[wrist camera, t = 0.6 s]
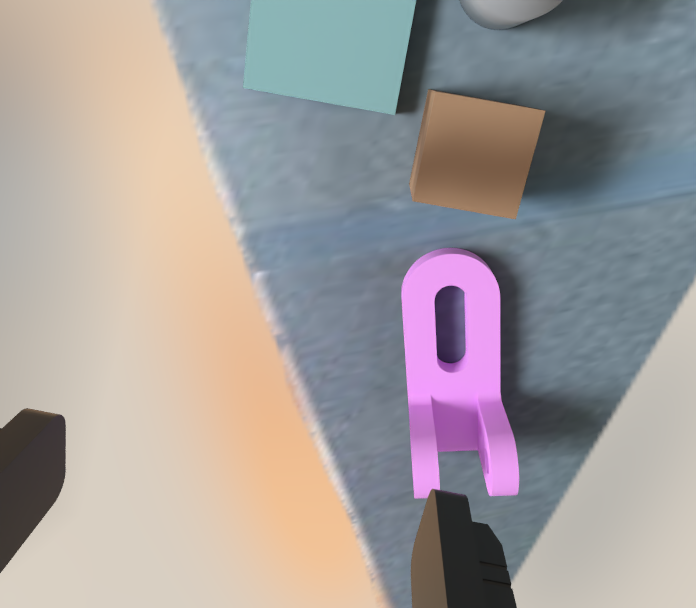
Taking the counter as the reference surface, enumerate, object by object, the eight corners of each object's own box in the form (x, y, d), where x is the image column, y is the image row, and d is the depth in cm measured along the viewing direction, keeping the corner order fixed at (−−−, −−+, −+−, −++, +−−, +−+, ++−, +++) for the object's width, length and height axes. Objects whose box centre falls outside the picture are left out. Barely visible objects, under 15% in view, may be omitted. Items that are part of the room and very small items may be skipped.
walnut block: (428, 89, 31) (435, 91, 26) (521, 105, 31) (545, 111, 26) (409, 183, 33) (412, 201, 28) (497, 198, 33) (515, 219, 28)
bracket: (496, 436, 38) (518, 509, 32) (410, 440, 39) (415, 512, 32) (495, 243, 34) (521, 283, 27) (398, 250, 34) (400, 291, 28)
